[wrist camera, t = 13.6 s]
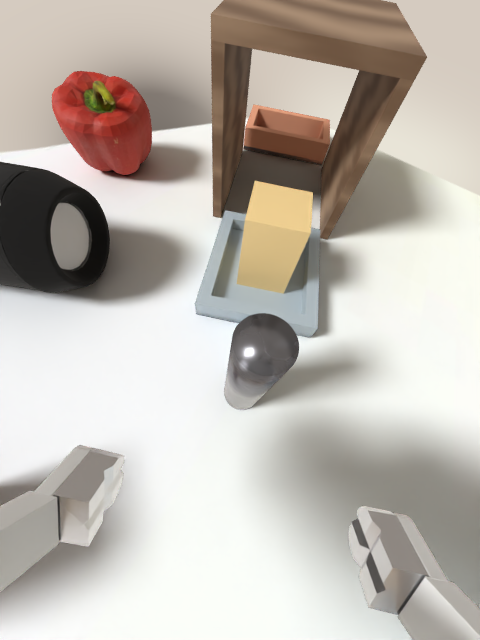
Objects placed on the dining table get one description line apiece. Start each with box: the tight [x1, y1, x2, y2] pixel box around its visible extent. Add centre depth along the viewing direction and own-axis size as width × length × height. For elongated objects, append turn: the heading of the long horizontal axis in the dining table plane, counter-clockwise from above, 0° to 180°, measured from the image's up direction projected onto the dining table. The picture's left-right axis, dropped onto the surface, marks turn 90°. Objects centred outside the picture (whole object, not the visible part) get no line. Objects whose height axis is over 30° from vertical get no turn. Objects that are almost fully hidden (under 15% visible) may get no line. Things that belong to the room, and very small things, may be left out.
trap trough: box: [244, 105, 330, 165], centre depth 39 cm, size 8×13×3 cm, turn 80°
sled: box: [195, 210, 320, 410], centre depth 20 cm, size 21×11×11 cm, turn 170°
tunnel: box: [211, 0, 427, 239], centre depth 27 cm, size 16×15×16 cm
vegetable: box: [52, 71, 152, 175], centre depth 29 cm, size 11×10×10 cm
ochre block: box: [237, 181, 313, 294], centre depth 22 cm, size 5×5×8 cm
